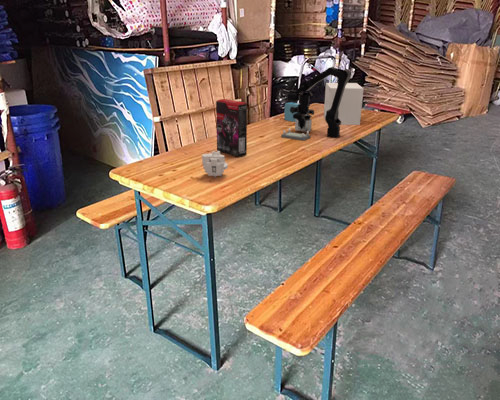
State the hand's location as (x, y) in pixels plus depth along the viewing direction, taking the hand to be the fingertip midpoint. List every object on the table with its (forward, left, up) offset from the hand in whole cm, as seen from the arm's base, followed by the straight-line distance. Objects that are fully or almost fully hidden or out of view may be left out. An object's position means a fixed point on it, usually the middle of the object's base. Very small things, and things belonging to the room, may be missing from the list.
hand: (303, 127), depth 274 cm
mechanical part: (-2, +96, -3) cm, 96 cm away
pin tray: (-2, +14, -3) cm, 14 cm away
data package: (+20, -26, -3) cm, 33 cm away
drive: (0, 0, -2) cm, 2 cm away
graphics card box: (+12, +62, -3) cm, 63 cm away
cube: (-8, -45, -4) cm, 46 cm away
